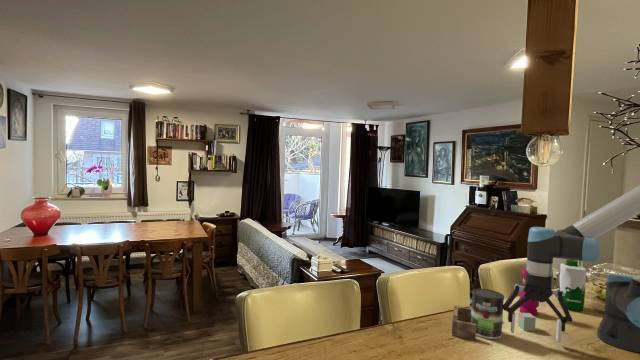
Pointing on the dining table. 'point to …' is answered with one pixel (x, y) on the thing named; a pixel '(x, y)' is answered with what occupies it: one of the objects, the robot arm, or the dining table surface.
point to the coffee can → (487, 313)
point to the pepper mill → (529, 305)
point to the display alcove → (463, 323)
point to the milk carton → (573, 285)
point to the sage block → (526, 321)
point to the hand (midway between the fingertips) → (534, 336)
